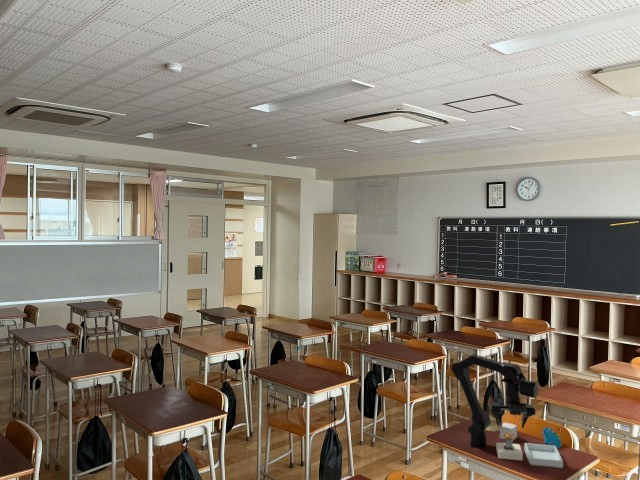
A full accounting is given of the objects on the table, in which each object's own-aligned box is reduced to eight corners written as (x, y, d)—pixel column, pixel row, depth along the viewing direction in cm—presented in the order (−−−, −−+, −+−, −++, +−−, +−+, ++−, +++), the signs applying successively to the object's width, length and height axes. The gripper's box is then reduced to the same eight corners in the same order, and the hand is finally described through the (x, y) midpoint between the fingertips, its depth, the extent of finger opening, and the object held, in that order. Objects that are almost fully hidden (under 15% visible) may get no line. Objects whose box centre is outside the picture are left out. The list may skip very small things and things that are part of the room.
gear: (552, 447, 237) (540, 426, 243) (543, 453, 240) (532, 432, 247) (567, 446, 242) (556, 425, 248) (559, 452, 245) (547, 431, 252)
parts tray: (530, 465, 223) (530, 458, 223) (524, 449, 239) (524, 443, 238) (563, 468, 220) (563, 461, 220) (555, 452, 236) (555, 445, 236)
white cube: (511, 441, 248) (511, 428, 248) (499, 437, 252) (499, 425, 252) (516, 437, 253) (516, 425, 252) (504, 434, 257) (504, 422, 257)
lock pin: (504, 456, 232) (504, 436, 232) (503, 452, 236) (503, 432, 236) (514, 457, 231) (515, 436, 231) (513, 452, 235) (513, 433, 235)
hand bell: (479, 429, 263) (480, 397, 263) (486, 424, 270) (486, 393, 269) (496, 433, 258) (496, 401, 258) (502, 428, 264) (502, 396, 264)
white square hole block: (498, 458, 230) (498, 451, 230) (496, 448, 239) (496, 442, 239) (522, 460, 227) (522, 453, 227) (519, 450, 237) (519, 444, 237)
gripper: (494, 397, 226) (493, 433, 227) (539, 400, 224) (538, 436, 224) (489, 389, 238) (488, 423, 238) (532, 391, 235) (531, 426, 235)
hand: (511, 427), depth 234 cm, fingers open, 9 cm apart
